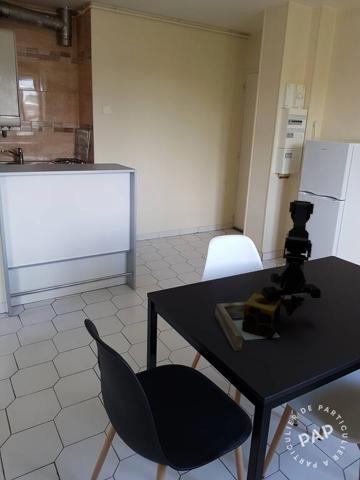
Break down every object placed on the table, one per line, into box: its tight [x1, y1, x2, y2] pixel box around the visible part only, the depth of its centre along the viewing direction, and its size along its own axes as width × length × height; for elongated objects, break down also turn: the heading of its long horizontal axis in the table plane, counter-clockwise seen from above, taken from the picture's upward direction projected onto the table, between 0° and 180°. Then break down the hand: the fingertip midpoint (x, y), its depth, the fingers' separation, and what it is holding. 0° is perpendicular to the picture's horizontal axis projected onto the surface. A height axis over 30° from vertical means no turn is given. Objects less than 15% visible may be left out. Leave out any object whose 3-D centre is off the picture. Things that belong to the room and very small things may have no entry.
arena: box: [214, 301, 246, 351], centre depth 123 cm, size 20×21×5 cm
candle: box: [242, 292, 282, 340], centre depth 122 cm, size 10×10×10 cm
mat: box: [233, 319, 281, 341], centre depth 124 cm, size 12×12×1 cm
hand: (288, 315), depth 125 cm, fingers closed
